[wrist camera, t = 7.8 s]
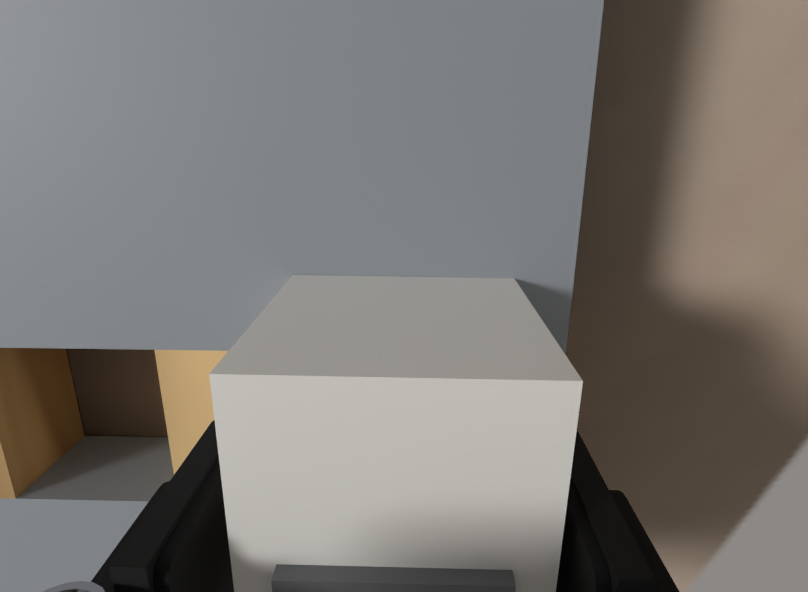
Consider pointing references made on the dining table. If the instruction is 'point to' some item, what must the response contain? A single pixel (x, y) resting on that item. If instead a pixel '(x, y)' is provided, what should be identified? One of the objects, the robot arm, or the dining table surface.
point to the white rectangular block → (396, 438)
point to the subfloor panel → (251, 203)
